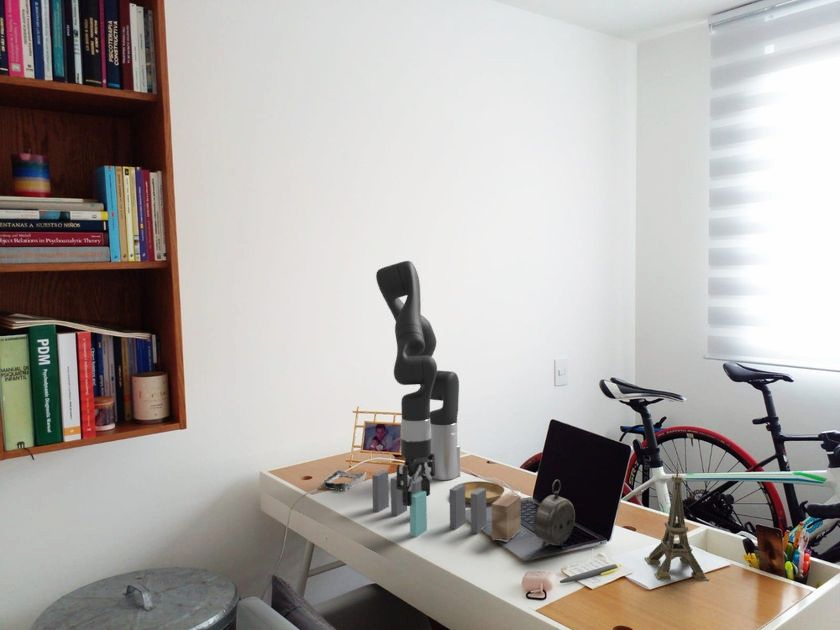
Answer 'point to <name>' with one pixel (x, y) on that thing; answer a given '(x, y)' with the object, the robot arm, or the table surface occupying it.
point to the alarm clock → (554, 519)
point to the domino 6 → (478, 510)
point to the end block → (506, 517)
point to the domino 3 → (416, 486)
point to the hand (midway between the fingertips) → (416, 500)
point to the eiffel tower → (675, 546)
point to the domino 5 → (457, 506)
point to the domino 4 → (418, 514)
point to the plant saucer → (491, 488)
